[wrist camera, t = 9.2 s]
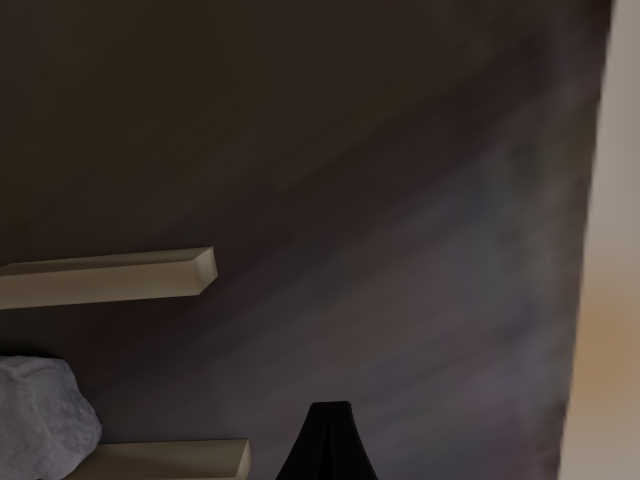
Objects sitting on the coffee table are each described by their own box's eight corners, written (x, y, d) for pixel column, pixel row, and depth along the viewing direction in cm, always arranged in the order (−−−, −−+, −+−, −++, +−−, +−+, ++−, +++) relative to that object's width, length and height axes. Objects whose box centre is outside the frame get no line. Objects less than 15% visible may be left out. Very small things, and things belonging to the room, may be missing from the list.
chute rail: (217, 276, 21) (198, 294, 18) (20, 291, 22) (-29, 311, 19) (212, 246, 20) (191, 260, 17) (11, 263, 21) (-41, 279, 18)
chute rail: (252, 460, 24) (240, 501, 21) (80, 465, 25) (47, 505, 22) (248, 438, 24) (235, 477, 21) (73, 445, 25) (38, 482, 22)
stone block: (-48, 354, 26) (-13, 470, 26) (-137, 383, 21) (-93, 525, 21) (83, 318, 25) (119, 439, 25) (21, 339, 20) (66, 489, 20)
